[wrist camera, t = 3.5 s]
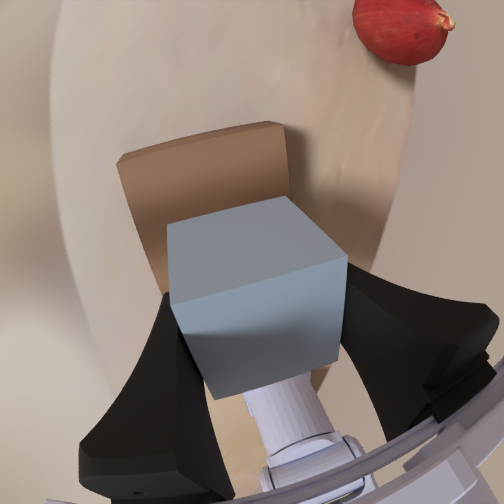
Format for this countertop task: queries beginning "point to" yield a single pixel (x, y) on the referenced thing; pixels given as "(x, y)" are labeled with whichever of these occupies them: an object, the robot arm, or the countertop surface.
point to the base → (201, 180)
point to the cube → (256, 294)
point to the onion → (402, 29)
